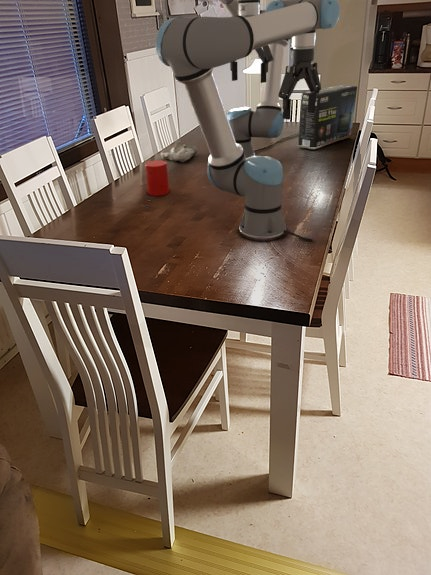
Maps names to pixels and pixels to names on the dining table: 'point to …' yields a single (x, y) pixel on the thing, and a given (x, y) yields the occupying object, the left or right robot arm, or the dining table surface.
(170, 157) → the fossil
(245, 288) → the dining table surface
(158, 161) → the canister
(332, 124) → the router box
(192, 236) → the dining table surface
